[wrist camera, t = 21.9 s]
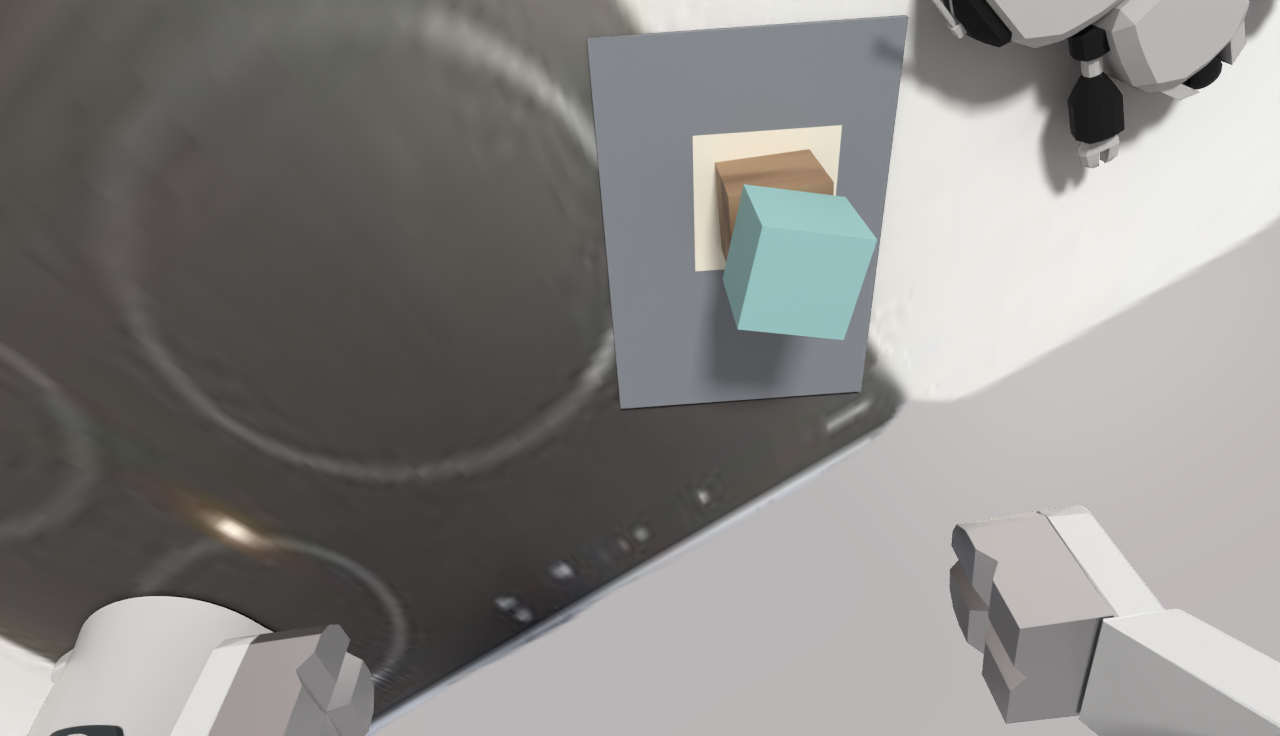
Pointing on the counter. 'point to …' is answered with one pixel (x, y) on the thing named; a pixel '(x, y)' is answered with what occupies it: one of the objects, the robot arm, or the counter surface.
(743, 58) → the mat
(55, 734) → the robot arm
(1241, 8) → the robot toy
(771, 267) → the teal block
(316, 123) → the counter surface
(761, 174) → the walnut block
